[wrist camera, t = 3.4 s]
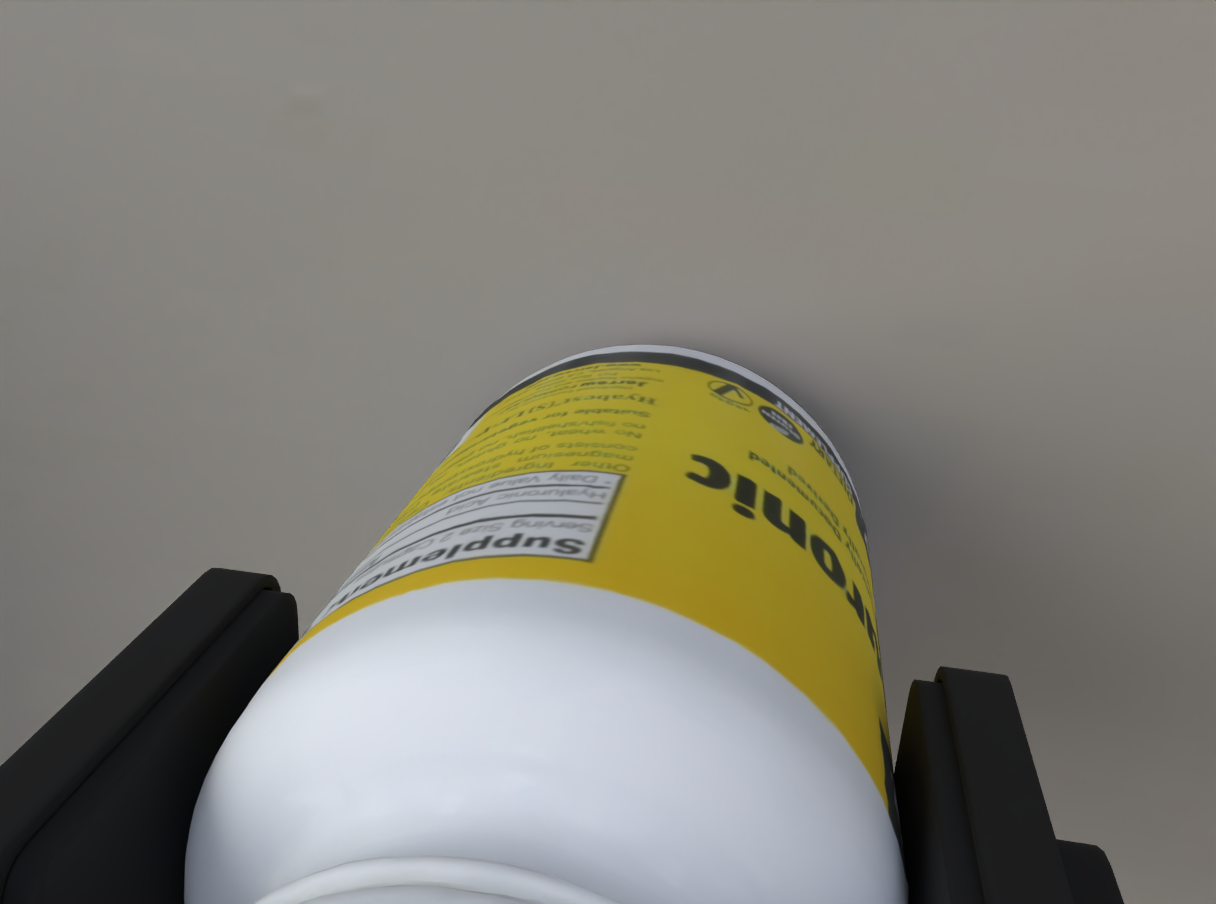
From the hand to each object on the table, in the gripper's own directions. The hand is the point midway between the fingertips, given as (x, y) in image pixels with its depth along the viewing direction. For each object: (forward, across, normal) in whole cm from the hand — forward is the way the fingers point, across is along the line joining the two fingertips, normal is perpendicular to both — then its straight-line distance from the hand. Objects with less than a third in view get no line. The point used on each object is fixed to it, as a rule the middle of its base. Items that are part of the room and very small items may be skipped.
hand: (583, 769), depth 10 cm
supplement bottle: (+5, 0, 0) cm, 5 cm away
